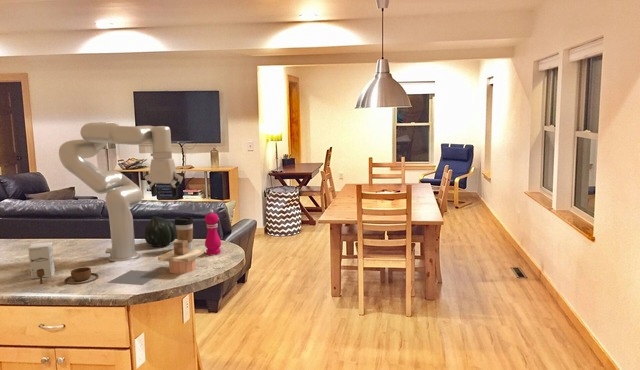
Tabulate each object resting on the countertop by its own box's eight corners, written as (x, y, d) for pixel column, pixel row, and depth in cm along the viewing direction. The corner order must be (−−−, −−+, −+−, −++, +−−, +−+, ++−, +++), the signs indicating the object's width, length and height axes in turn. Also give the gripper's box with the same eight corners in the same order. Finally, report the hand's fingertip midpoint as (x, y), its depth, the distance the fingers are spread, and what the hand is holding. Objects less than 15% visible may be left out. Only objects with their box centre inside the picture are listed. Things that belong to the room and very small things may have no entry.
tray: (107, 284, 190) (106, 282, 190) (131, 271, 204) (130, 270, 204) (142, 286, 186) (142, 284, 186) (164, 273, 201) (164, 272, 201)
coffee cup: (178, 247, 240) (176, 216, 238) (196, 246, 241) (194, 215, 239) (174, 252, 232) (172, 220, 230) (193, 251, 232) (191, 219, 230)
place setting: (75, 291, 184) (73, 276, 183) (34, 286, 191) (32, 271, 190) (110, 276, 200) (109, 262, 200) (71, 272, 208) (70, 258, 207)
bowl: (164, 274, 200) (163, 259, 199) (177, 266, 210) (176, 252, 209) (187, 275, 198) (186, 260, 197) (199, 267, 207) (199, 253, 207)
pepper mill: (217, 255, 224) (215, 211, 221) (202, 255, 226) (200, 211, 223) (224, 251, 231) (222, 208, 228) (209, 250, 233) (207, 207, 230)
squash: (186, 229, 251) (164, 208, 250) (174, 238, 237) (152, 215, 236) (166, 248, 254) (145, 226, 253) (154, 257, 240) (132, 235, 239)
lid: (158, 260, 198) (157, 244, 197) (175, 251, 211) (174, 236, 210) (188, 262, 195) (187, 246, 194) (203, 252, 208) (203, 238, 207)
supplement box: (30, 279, 198) (27, 247, 196) (35, 273, 205) (32, 243, 203) (51, 277, 200) (48, 246, 198) (55, 271, 207) (52, 241, 205)
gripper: (138, 156, 210) (141, 197, 213) (176, 157, 206) (178, 198, 208) (149, 154, 217) (151, 194, 220) (185, 155, 213) (187, 195, 216)
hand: (164, 196), depth 214 cm, fingers open, 9 cm apart
